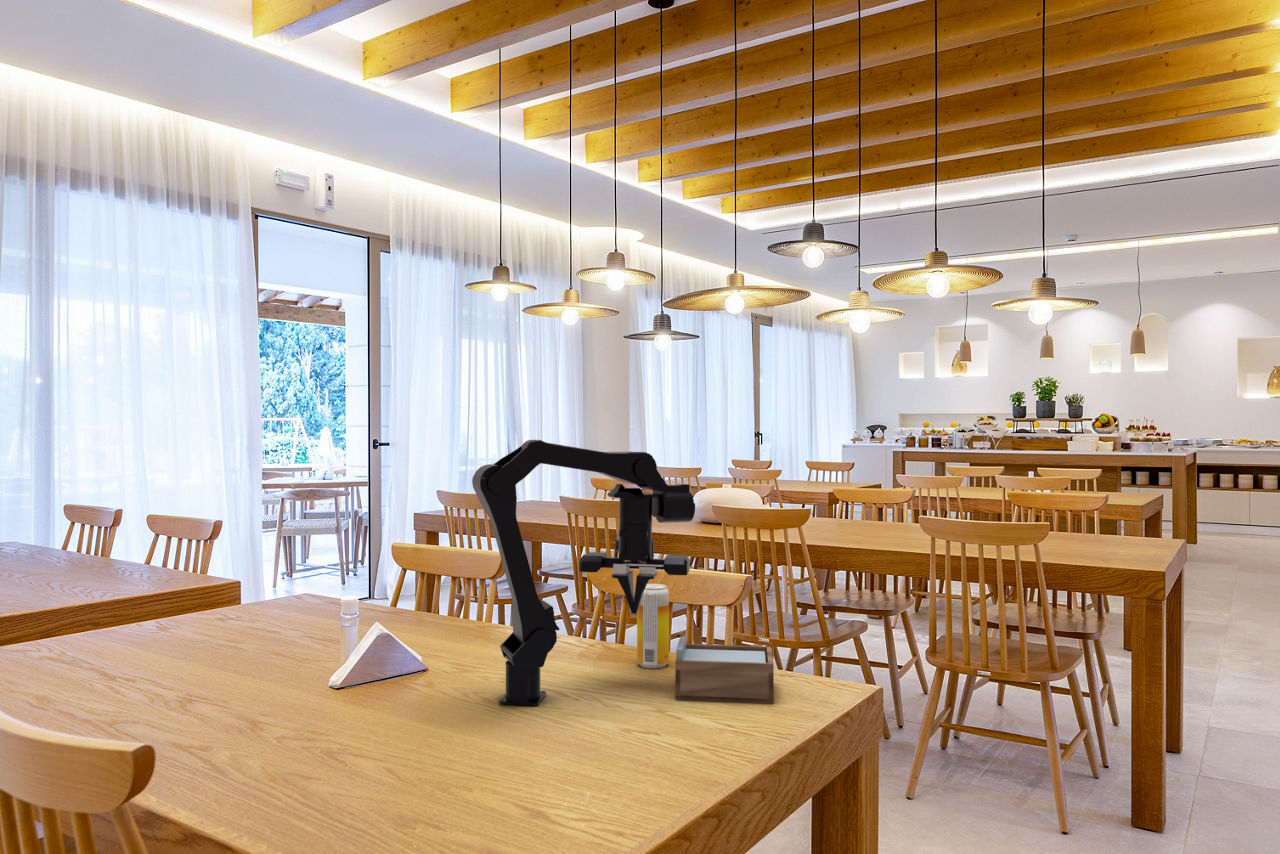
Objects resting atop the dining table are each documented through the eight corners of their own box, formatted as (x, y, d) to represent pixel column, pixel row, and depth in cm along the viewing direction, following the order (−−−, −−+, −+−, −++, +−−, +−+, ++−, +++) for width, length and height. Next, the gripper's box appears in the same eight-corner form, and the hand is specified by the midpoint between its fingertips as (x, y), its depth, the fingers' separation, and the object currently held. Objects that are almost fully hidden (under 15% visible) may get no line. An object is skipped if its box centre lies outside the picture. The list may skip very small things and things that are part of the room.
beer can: (669, 661, 164) (669, 583, 164) (667, 669, 158) (667, 589, 158) (638, 660, 164) (638, 583, 164) (635, 668, 158) (635, 588, 158)
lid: (766, 670, 139) (766, 652, 139) (676, 667, 141) (676, 649, 141) (764, 655, 148) (764, 638, 148) (680, 652, 150) (680, 636, 150)
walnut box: (773, 703, 137) (773, 664, 138) (675, 700, 139) (675, 661, 140) (771, 682, 149) (771, 646, 149) (680, 679, 151) (680, 643, 151)
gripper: (692, 520, 154) (691, 606, 154) (592, 518, 157) (590, 602, 156) (687, 526, 143) (686, 619, 143) (579, 523, 146) (578, 614, 145)
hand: (634, 613), depth 147 cm, fingers closed
